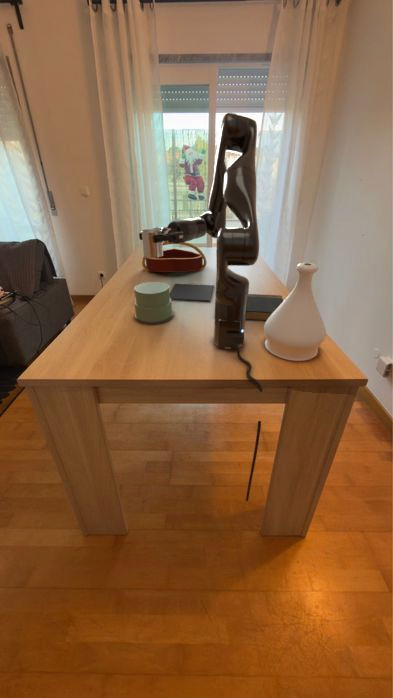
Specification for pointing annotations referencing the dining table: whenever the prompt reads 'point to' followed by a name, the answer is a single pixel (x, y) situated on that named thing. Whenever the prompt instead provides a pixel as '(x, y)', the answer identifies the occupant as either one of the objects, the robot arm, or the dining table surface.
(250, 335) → the dining table surface
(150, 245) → the steel cup
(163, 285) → the green round container
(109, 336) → the dining table surface
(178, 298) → the slate mat
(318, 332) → the vase
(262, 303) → the book
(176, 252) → the decorative basket
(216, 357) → the dining table surface
